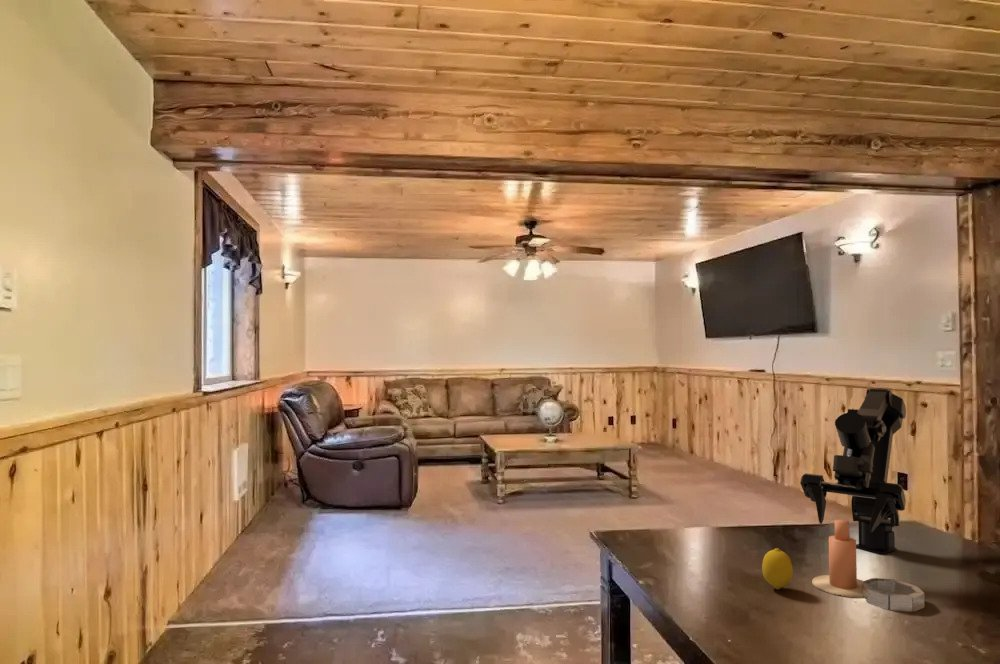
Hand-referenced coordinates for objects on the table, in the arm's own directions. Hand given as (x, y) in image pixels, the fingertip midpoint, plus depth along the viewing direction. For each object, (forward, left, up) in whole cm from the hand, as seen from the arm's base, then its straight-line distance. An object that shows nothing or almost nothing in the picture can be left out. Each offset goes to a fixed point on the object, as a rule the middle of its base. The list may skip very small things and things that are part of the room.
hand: (844, 526), depth 132 cm
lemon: (-5, -14, -12) cm, 19 cm away
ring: (+10, -1, -11) cm, 15 cm away
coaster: (+1, -2, -11) cm, 12 cm away
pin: (+1, -2, -11) cm, 11 cm away
